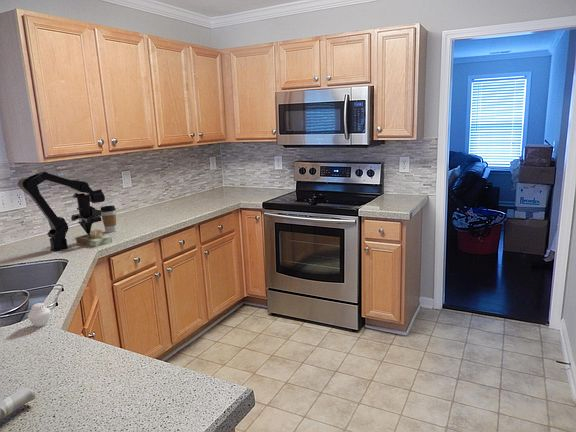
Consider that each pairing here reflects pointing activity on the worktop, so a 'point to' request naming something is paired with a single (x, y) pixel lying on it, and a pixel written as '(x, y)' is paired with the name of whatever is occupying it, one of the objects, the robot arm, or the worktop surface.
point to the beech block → (96, 233)
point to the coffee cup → (109, 218)
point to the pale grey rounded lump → (39, 314)
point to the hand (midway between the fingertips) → (88, 234)
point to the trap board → (93, 240)
